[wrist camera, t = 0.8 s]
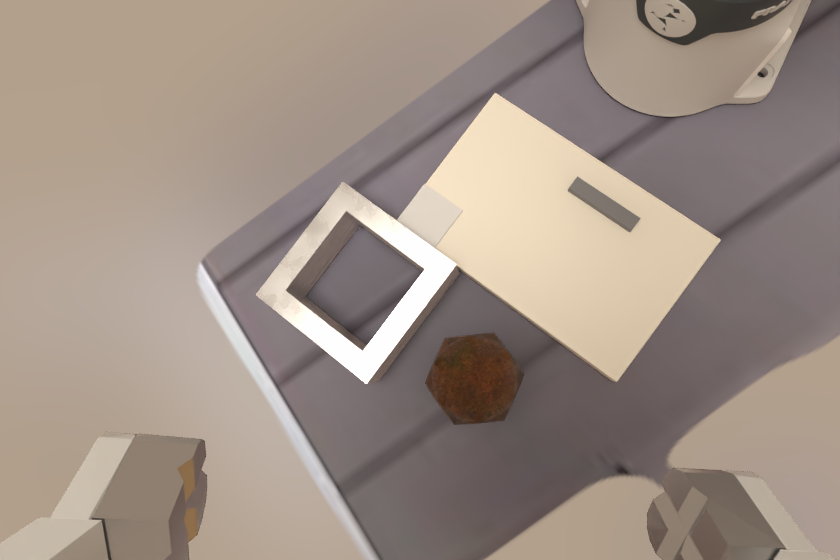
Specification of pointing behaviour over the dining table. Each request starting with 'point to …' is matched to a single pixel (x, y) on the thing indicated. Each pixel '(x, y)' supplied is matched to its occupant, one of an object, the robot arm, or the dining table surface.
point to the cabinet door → (558, 236)
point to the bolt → (474, 379)
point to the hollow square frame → (318, 253)
